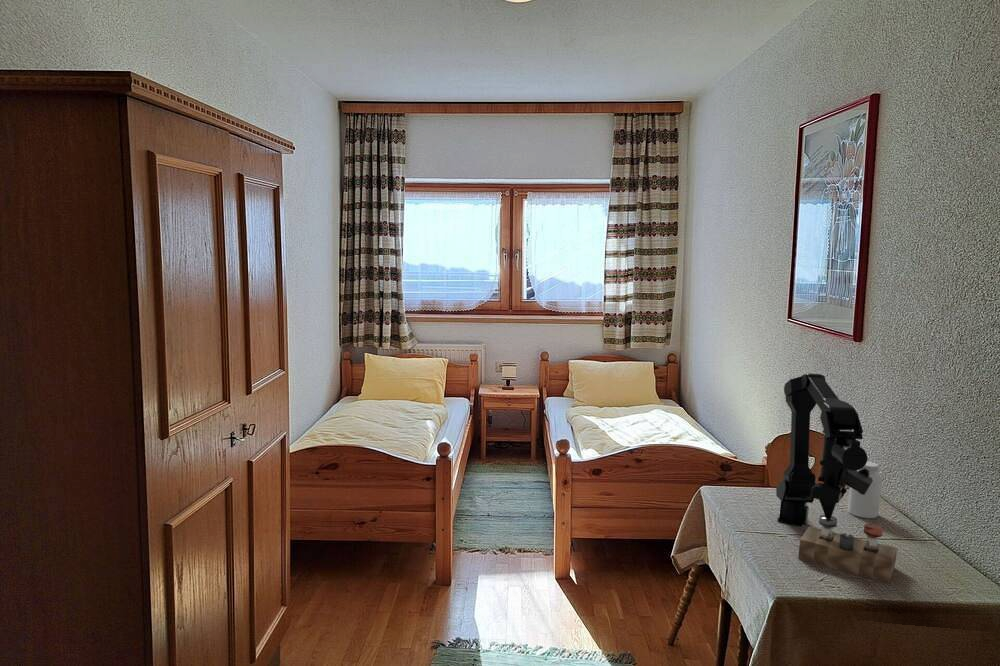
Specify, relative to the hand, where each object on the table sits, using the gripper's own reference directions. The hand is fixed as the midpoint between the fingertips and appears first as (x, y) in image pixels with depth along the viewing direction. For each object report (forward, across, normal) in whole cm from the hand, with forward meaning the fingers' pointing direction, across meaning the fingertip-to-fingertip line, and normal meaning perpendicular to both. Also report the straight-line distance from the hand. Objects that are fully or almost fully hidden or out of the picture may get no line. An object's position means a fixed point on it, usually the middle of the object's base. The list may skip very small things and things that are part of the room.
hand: (828, 517), depth 181 cm
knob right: (+7, 0, -10) cm, 12 cm away
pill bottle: (+10, +38, -3) cm, 40 cm away
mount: (+10, 0, -5) cm, 11 cm away
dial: (+5, -3, -5) cm, 8 cm away
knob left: (+7, 0, 0) cm, 7 cm away
